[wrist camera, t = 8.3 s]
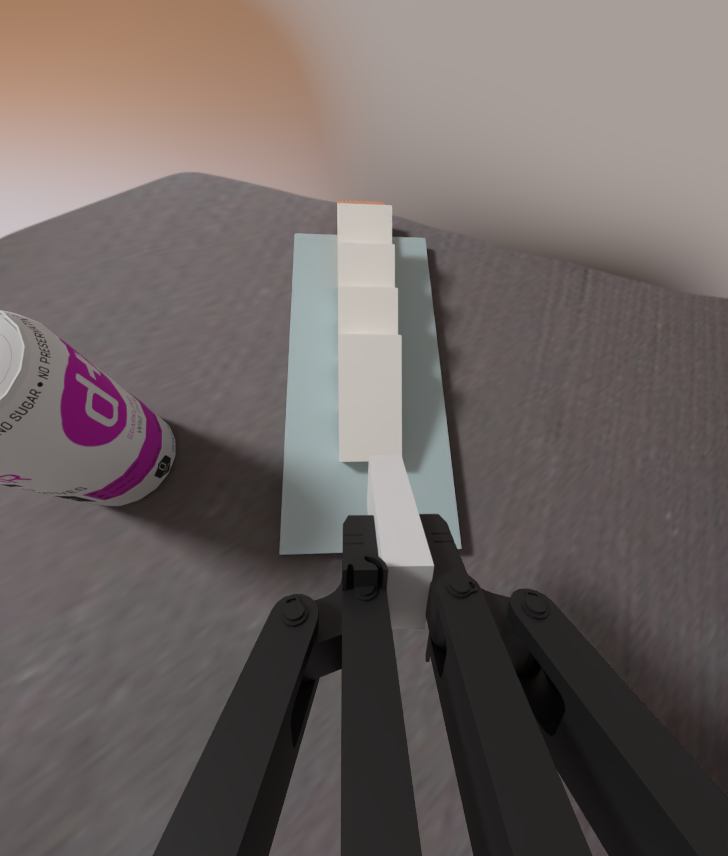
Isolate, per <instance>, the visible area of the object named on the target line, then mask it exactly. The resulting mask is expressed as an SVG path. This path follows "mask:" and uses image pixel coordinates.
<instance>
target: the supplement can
mask: <svg viewBox="0 0 728 856" xmlns="http://www.w3.org/2000/svg"><path fill="white" fill-rule="evenodd" d="M174 459H175V438H174V435H173V433H172V431H171V428H170V426H169V425H168V424H167V423H166V422H165V421H164V420H163V419H162V418H161V417H159V416H158V415H157V414H156V413H155V412H153V411H152V410H151V409H150V408H148V407H147V406H146V405H144V404H143V403H142V402H141V401H139V400H138V399H137V398H136V397H134V396H133V395H132V394H130V393H129V392H128V391H127V390H125V389H124V388H123V387H121V386H120V385H119V384H118V383H116V382H115V381H114V380H113V379H111V378H110V377H109V376H107V375H106V374H105V373H104V372H102V371H101V370H100V369H98V368H97V367H96V366H95V365H93V364H92V363H91V362H90V361H88V360H87V359H86V358H84V357H83V356H82V355H81V354H79V353H78V352H77V351H76V350H74V349H73V348H72V347H70V346H69V345H68V344H67V343H65V342H64V341H63V340H61V339H60V338H59V337H58V336H56V335H55V334H54V333H53V332H51V331H50V330H49V329H47V328H46V327H45V326H44V325H42V324H41V323H40V322H38V321H35V320H32V319H29V318H27V317H24V316H21V315H19V314H16V313H12V312H7V311H2V310H0V484H1V485H6V486H10V487H15V488H20V489H24V490H29V491H34V492H38V493H43V494H48V495H52V496H57V497H62V498H66V499H71V500H76V501H81V502H85V503H90V504H95V505H99V506H122V505H125V504H129V503H132V502H135V501H138V500H140V499H142V498H143V497H145V496H146V495H148V494H149V493H151V492H152V491H154V490H155V489H156V488H157V487H158V486H159V485H160V484H161V482H162V481H163V480H164V479H165V477H166V476H167V475H168V474H169V472H170V469H171V466H172V464H173V461H174Z"/></svg>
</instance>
